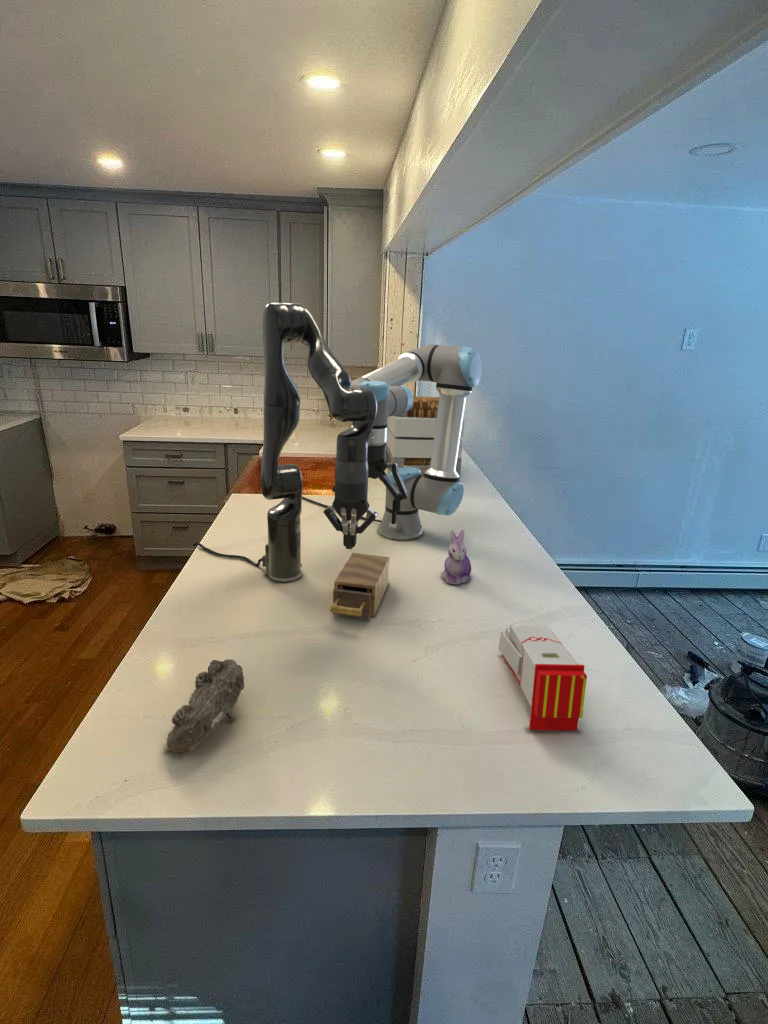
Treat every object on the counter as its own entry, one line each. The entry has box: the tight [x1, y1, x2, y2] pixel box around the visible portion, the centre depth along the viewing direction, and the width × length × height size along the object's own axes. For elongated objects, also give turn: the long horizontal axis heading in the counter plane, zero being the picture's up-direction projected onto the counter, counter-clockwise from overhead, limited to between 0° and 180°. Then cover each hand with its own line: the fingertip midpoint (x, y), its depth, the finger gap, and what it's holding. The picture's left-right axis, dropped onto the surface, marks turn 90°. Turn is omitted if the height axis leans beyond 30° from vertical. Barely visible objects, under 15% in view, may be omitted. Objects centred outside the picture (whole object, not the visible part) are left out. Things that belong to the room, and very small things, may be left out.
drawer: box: [329, 585, 372, 620], centre depth 148 cm, size 24×10×7 cm, turn 169°
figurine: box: [442, 529, 472, 585], centre depth 166 cm, size 9×10×15 cm
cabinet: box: [334, 552, 390, 617], centre depth 154 cm, size 19×11×9 cm, turn 169°
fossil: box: [166, 658, 245, 754], centre depth 106 cm, size 22×10×15 cm
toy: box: [498, 624, 588, 732], centre depth 119 cm, size 12×13×30 cm
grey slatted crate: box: [385, 395, 465, 482], centre depth 268 cm, size 34×33×41 cm
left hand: (349, 547), depth 134 cm, fingers closed
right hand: (369, 519), depth 153 cm, fingers open, 13 cm apart
